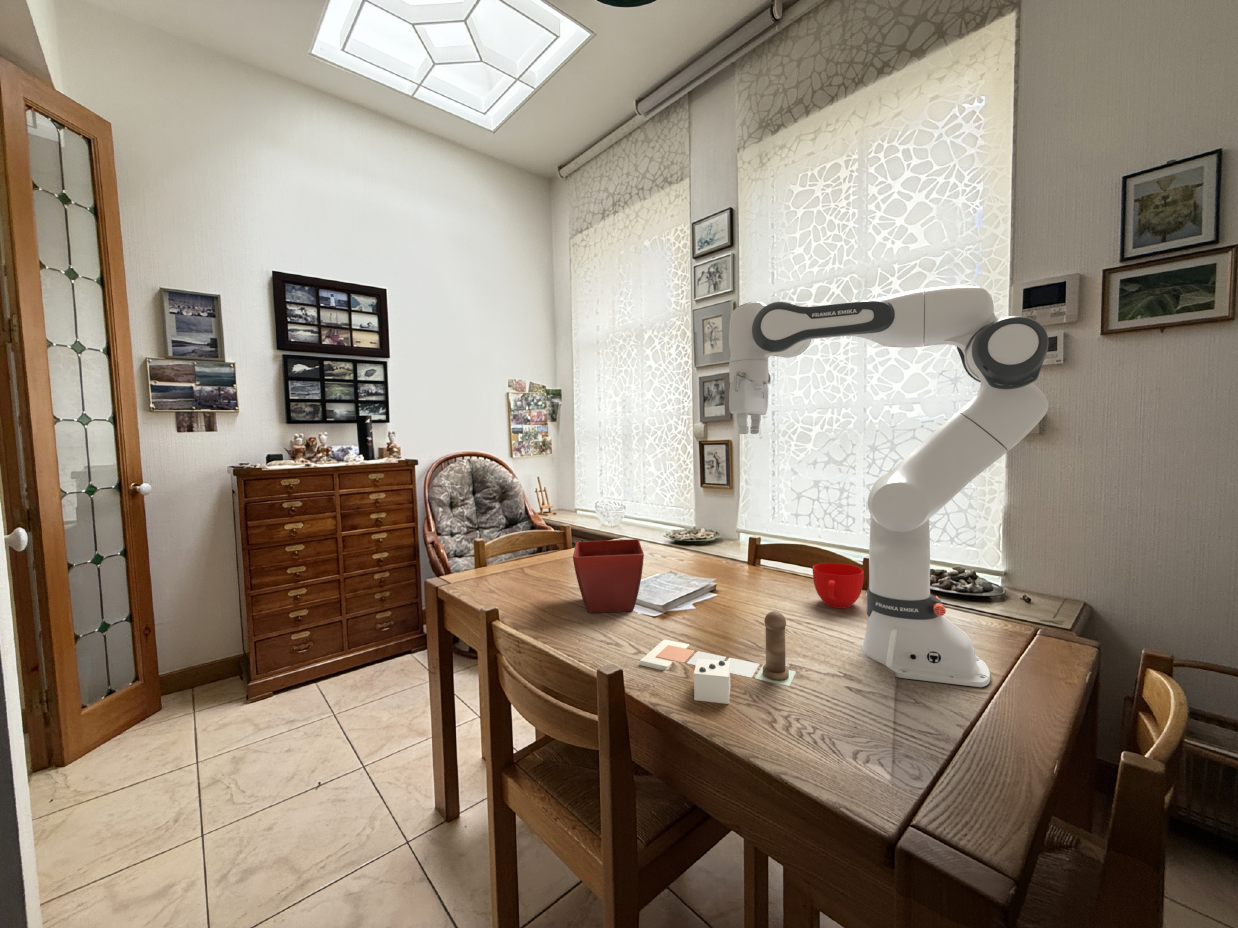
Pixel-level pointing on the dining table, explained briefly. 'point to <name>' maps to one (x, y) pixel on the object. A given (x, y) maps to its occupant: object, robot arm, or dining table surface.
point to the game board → (678, 652)
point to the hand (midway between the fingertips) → (749, 434)
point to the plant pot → (609, 574)
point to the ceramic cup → (838, 583)
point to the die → (712, 681)
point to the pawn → (775, 647)
